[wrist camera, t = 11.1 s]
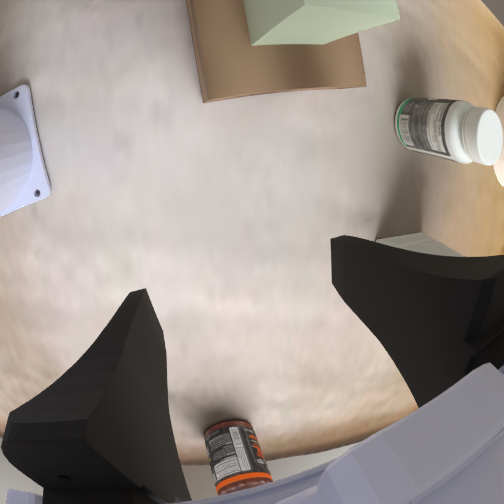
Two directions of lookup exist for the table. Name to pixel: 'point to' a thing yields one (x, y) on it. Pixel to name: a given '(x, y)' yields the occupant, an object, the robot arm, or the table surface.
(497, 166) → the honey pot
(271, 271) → the table surface
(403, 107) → the pill bottle
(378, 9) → the sage block
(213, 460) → the supplement bottle
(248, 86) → the walnut base
